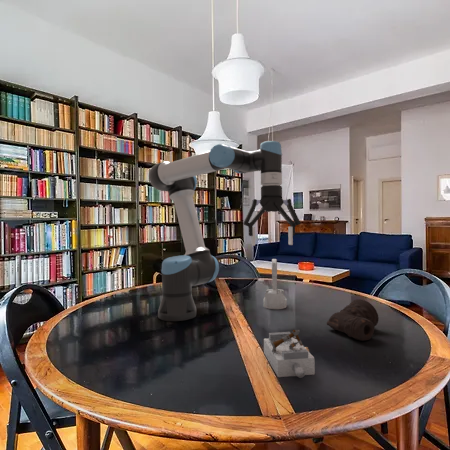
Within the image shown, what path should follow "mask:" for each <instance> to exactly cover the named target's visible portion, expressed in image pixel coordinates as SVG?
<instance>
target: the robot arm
mask: <svg viewBox="0 0 450 450" xmlns="http://www.w3.org/2000/svg"><path fill="white" fill-rule="evenodd" d="M259 146H260V147H259V149H257V150H251V151H247V150H244V149H242V148H241V149H240V148H237V147H233V146H230V145H228V144H223V143H216V144H214V145H213V147H211V149H210V150H207V151H205V152H202V153H198V154H195V155H192V156H188V157H184V158H181V159H178V160H174V161H171V162H170V161H162V162H159V163H156V164H154V165H153V166H152V167H151V168H150V169H149V172H148V180H149V182H150V185H151V186H152V187H153V188H154V189H156V190H157V191H162V192H167V194H168V197H169V199H170V200H171V201H172V202H173V203H174V208H175V213H176V215H177V216H176V217H177V221H178V224H179V228H180V233H181V236H182V240H183V241H182V242H183V245H184V250H185V254H183V255H182V254H181V255H173V256H170V257H166V258H164V259H163V260H162V262H161V270H160V271H161V292H162V293H161V301H160V304H159V307H158V311H157V317H158V319H159V320H161V321H165V322H180V321H181V322H183V321H188V320H191V319H194V318H196V317H197V307H196V304H195V300H194V298H193V295H192V294H193V293H192V287H195V286H199V285H205V284H209V283H210V282H213V281H214V280H215V279H216V278H217V277H218V274H219V271H220V265H219V261H218V259H217V258H216V257H215V256H213V255H212V254H211V251H210V249H209V248H208V247H206V245H205V241H204V237H203V233H202V230H201V226H200V222H199V218H198V213H197V210H196V205H195V201H194V198H193V197H194V195H195V192H196V191H195V190H196V188H197V185H198V180H197V176H201V175H206V174H209V173H214V172H216V171H217V172H218V171H222V170H226V169H227V170H228V169H229V170H233V171H234V172H235V173H236V174H246V173H252V172H253V173H254V172H260V185H261V187H260V199H252V201H251V206H250V209H249V210H248V213H247V215H246V217H245V219H244V220H243V225H244V226H246V227H247V228H248V236H249V237H251V246H252V247H253V246H256V227H254V225H256V223H257V222H258V220H259V219H260V218H261V217H262V215H264V213H265V212H267V213H271V212H272V213H274V212H278V213H280V215H281V217H283V218H284V219H285V221H286V222H287V223H288V224H289V226H288V227H287V228H288V229H287V230H288V232H287V235H288V241H287V242H288V246H293V244H294V242H293V241H294V239H293V236H295V235H296V227H297V226H298V225H300V224H301V220H300V218H299V217H298V215H297V213H296V211H295V208H294V207H293V205H292V204H293V203H292V199H291V198H288V199H283V186H282V184H283V171H282V169H283V168H282V167H283V166H282V165H283V164H282V162H283V159H282V158H283V157H282V156H283V153H282V144H281V142H280V141H276V140H266V141H263V142H261V143H260V145H259ZM259 204H260V206H261V208H260V210H259V211H258V212H257V214H256V215H255V216H254V217H253V218H252V216H253V214H254V211H255V210H256V207H257V206H259ZM283 204H284V205H285V206H286V208H287V210H288V212H289V214H290V216H291V217H290V216H289V214H287V212H286V211H285V209H284V208H283V207H282V206H283ZM251 218H252V219H251Z"/></svg>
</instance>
